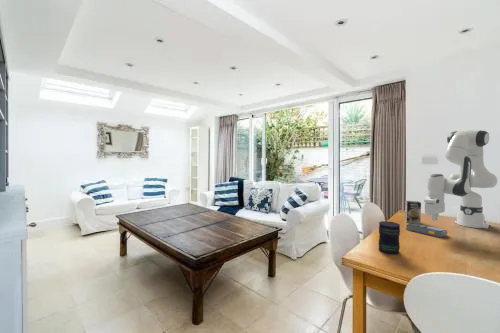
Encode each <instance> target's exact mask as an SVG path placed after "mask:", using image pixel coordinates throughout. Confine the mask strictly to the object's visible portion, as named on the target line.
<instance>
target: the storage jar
mask: <svg viewBox="0 0 500 333" xmlns="http://www.w3.org/2000/svg"><path fill="white" fill-rule="evenodd" d="M378 223H379V224H378V234H379V236H378V238H379V239H378V252H380V253H382V254H385V255H391V256H396V255H399V254H400V248H401V247H400V235H401V228H400V226H401V225H400V224H399V223H398V222H395V221H388V220H387V221H386V220H385V221H382V220H381V221H378Z"/></svg>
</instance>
